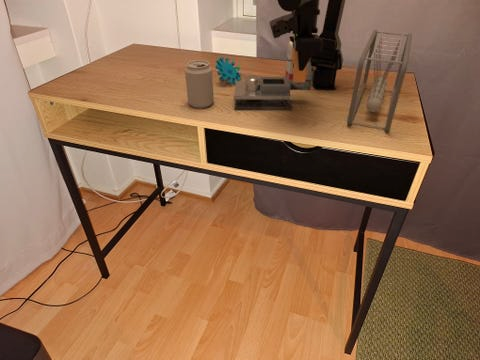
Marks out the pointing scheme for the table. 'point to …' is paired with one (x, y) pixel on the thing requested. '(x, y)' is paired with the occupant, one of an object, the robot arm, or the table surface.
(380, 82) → the newton's cradle
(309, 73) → the ink box
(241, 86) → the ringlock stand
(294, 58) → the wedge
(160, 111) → the table surface
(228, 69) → the gear
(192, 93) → the can
